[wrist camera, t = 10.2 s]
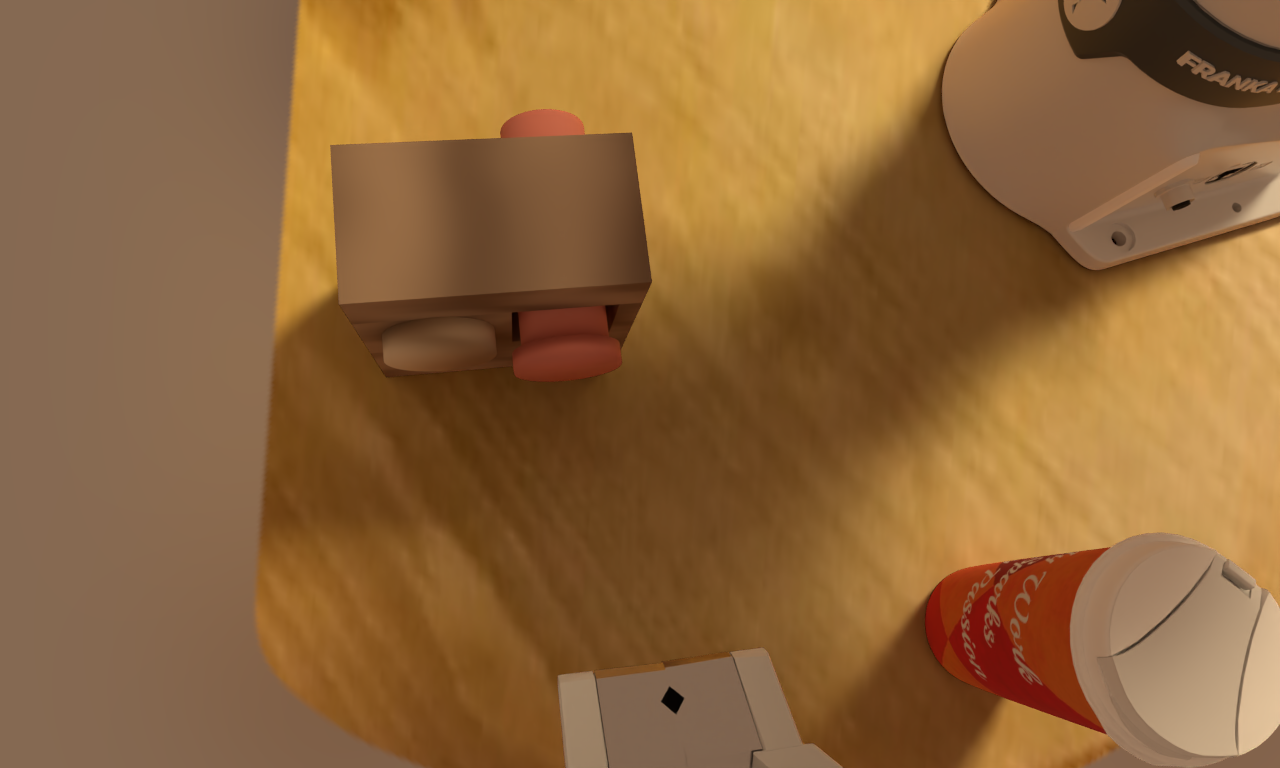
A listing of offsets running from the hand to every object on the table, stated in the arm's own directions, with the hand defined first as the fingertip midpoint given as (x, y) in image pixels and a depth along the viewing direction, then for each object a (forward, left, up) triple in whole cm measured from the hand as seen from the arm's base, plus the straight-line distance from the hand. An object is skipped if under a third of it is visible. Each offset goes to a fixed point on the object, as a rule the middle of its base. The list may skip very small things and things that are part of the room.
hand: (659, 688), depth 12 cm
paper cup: (-20, +3, -28) cm, 34 cm away
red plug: (-1, -15, -23) cm, 28 cm away
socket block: (+2, -15, -27) cm, 31 cm away
